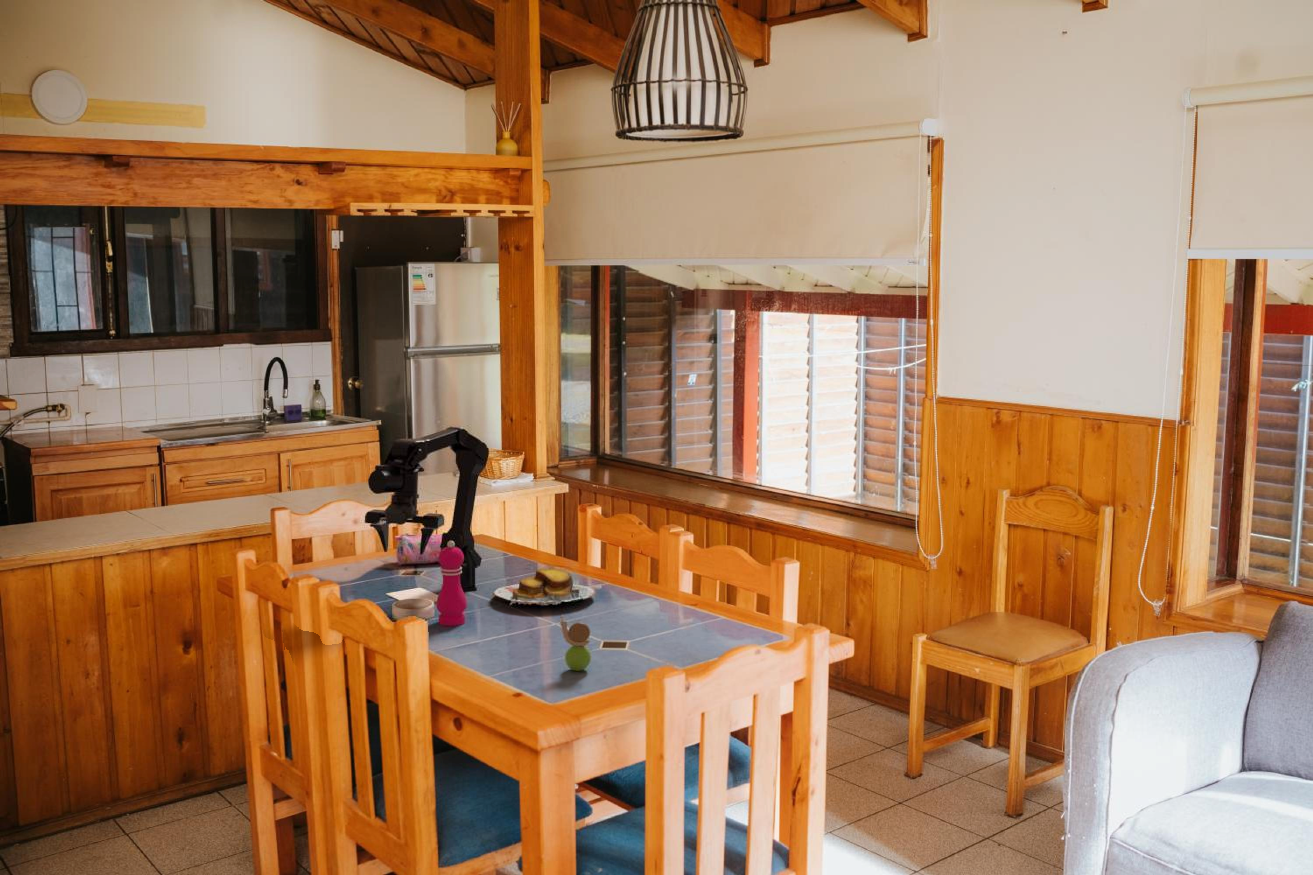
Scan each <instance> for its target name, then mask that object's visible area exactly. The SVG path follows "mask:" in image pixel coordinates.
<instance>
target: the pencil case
mask: <svg viewBox="0 0 1313 875" xmlns="http://www.w3.org/2000/svg"><path fill="white" fill-rule="evenodd" d="M442 534H443V533H439V534H436V533H435V534H432V535H431V537H430V539H429V541H428V543H427V546H426V548H425V550H424V553H423V554H422V555H420V544H421V535H422V534H421V535H418V534H410V533H405V534H404V533H403V534H402V533H401V535H395V536H394V538H395V539H397V544H396V559H397V563H398V565H400V566H401V565H402V566H404V565H409V566H410V565H424V564H433V563H439V560H438V557H439V553H440V552H441V548H440V545H441V541H442Z"/></svg>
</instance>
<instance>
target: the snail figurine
mask: <svg viewBox="0 0 1313 875" xmlns="http://www.w3.org/2000/svg"><path fill="white" fill-rule="evenodd" d="M563 618H564V615H563V614H560V619H561V621H560V627H561V632H562V635H563V638H564V640H565V642H566V643H567V644H569V645H570V647H569V648H568V649H567V650H566V652H565V656H564V661H565V664H566V665H567V666H568V668H569V669H570V670H572V671H577V672H579V671H583V670H585V669H587V668H588V666H589V665H590V663H591V659H592V658H591V657H592V656H591V653H590V650H589V649H588V648H587V647H586V646H587V645H588V644H589V643H590V642H591V639H589V638H590V634H591V629H590V628H589V626H588V625H587V624H586V623H584V622H581V621H579V622H575V623H573V624H572V625H571V626H570V627H569V629H568V627H567V626H568V622H567V620H565V619H564V620H563Z"/></svg>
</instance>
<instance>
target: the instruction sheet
mask: <svg viewBox="0 0 1313 875" xmlns="http://www.w3.org/2000/svg"><path fill="white" fill-rule="evenodd" d="M385 595H386V596H388V597H391V598H393V599H395V600H396V601H400V600H404V599H428V600H431V601H433V602H434V603H437V599H438V596H439V594H436V593H434V592H432V591H429V590H427V589H425V588H422V587H415V588H411V589H410V588H409V589H405V590H399V591H393V592H392V591H391V592H388V593H385Z"/></svg>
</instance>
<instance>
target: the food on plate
mask: <svg viewBox="0 0 1313 875" xmlns="http://www.w3.org/2000/svg"><path fill="white" fill-rule="evenodd" d="M492 596H493V599H496V597H498V598H501V599H503V600H506V601H509V602H510V603H509V606H511V605H512V604H517V603H518V605H522V604H523V605H525V606H526V605H533V604H534V605H535V604H536V605H539V606H549V605H558V604H559V605H560V604H561V603H562V602H564V603H568V602H569V603H570V602H571V603H572V602H576V601H577V602H578V601H580V600H586V599H589V598H593V596H594V597H596V590H595V589H594V588H592V587H589V586H585V585H581V584H574V580H573V577H572V575H571V573H570V572H568V571H566V570H564V569H559V568H538V569H536V571H535V575H534V576H530V577H525V578H522V579H521V580H520V581H519V583H516V584H511V585H508V586H501V587H498V588H496V589H495V590H494V591H493V592H492Z"/></svg>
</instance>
